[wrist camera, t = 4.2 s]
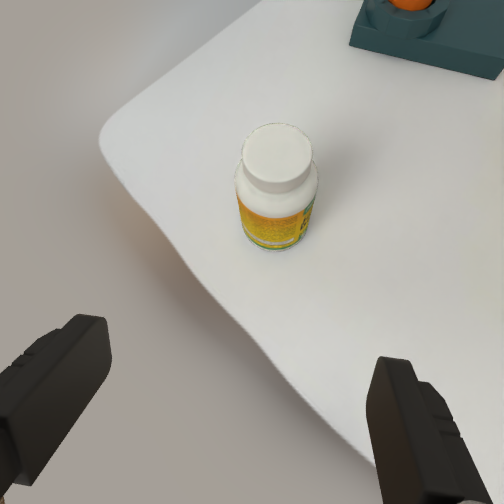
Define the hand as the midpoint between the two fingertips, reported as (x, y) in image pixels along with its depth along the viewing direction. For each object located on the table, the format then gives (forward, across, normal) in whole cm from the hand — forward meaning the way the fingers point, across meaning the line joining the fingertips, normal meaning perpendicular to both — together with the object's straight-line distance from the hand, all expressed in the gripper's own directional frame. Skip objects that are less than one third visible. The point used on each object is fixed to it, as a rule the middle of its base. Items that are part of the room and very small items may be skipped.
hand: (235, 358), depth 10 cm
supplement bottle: (+19, 0, +3) cm, 19 cm away
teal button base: (+36, -13, -15) cm, 41 cm away
